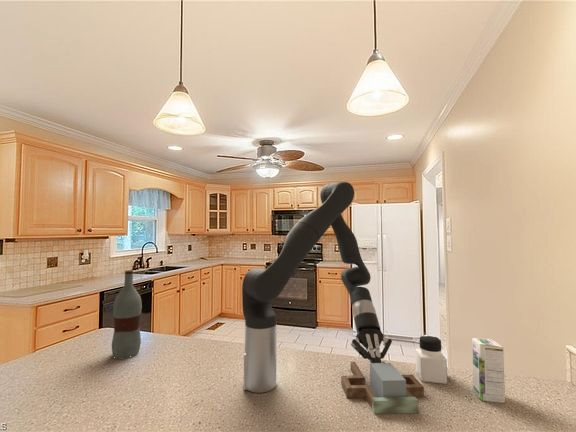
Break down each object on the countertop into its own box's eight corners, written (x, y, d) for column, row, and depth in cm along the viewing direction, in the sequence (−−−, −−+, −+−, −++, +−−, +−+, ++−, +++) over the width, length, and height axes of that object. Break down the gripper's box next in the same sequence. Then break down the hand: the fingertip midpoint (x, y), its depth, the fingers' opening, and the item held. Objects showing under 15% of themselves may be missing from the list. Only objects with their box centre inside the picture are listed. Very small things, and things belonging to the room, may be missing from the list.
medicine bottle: (447, 384, 85) (446, 342, 86) (421, 381, 87) (420, 340, 88) (440, 373, 92) (439, 334, 93) (416, 370, 94) (415, 332, 94)
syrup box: (472, 389, 82) (470, 337, 83) (495, 392, 81) (493, 338, 82) (481, 401, 77) (479, 344, 78) (506, 404, 76) (504, 346, 76)
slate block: (383, 409, 73) (382, 380, 74) (370, 388, 83) (369, 363, 84) (406, 408, 73) (406, 380, 74) (391, 388, 83) (390, 362, 84)
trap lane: (353, 414, 71) (353, 401, 71) (335, 370, 94) (335, 360, 94) (438, 412, 72) (438, 399, 72) (399, 369, 95) (399, 359, 95)
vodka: (136, 347, 113) (139, 268, 114) (143, 354, 106) (146, 270, 108) (108, 353, 106) (111, 270, 108) (114, 362, 99) (117, 273, 101)
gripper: (347, 311, 94) (358, 367, 81) (387, 311, 95) (405, 367, 82) (343, 323, 99) (353, 378, 86) (382, 322, 100) (397, 377, 87)
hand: (378, 372), depth 84 cm, fingers closed
